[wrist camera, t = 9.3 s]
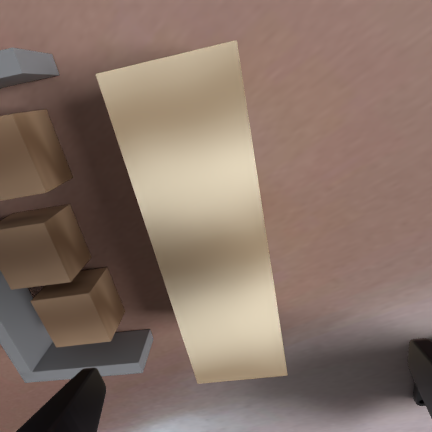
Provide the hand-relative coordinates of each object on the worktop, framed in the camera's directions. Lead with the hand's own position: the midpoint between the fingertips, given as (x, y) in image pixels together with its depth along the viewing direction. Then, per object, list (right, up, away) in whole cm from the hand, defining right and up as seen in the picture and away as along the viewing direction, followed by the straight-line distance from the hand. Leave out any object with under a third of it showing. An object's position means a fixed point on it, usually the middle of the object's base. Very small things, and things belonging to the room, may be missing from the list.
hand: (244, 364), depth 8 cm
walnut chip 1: (-12, +8, +9) cm, 17 cm away
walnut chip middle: (-12, +3, +11) cm, 17 cm away
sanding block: (-1, +5, +10) cm, 11 cm away
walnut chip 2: (-10, -1, +13) cm, 17 cm away
